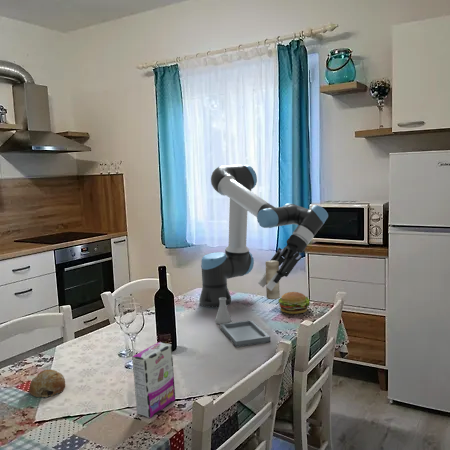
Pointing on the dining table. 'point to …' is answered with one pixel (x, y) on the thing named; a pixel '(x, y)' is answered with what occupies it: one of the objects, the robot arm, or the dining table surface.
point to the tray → (245, 333)
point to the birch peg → (270, 272)
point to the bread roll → (47, 383)
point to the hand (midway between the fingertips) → (264, 286)
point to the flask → (223, 313)
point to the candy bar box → (153, 379)
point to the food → (294, 303)
